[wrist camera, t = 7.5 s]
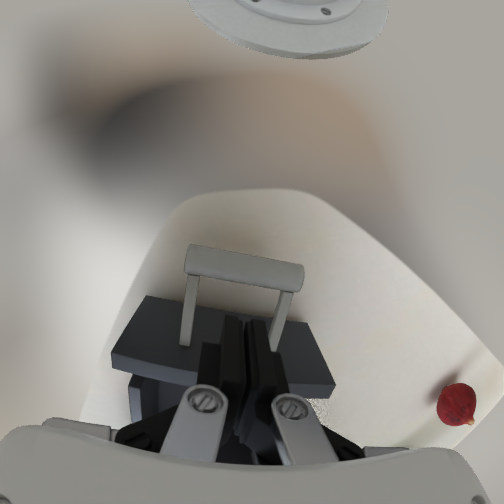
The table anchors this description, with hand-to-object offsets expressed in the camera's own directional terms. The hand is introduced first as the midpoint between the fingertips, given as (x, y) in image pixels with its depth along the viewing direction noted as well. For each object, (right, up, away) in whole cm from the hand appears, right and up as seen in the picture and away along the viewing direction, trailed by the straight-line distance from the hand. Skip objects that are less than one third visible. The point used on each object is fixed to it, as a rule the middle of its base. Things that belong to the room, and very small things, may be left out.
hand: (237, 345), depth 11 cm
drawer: (-2, -4, +10) cm, 11 cm away
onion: (+27, -15, +16) cm, 35 cm away
